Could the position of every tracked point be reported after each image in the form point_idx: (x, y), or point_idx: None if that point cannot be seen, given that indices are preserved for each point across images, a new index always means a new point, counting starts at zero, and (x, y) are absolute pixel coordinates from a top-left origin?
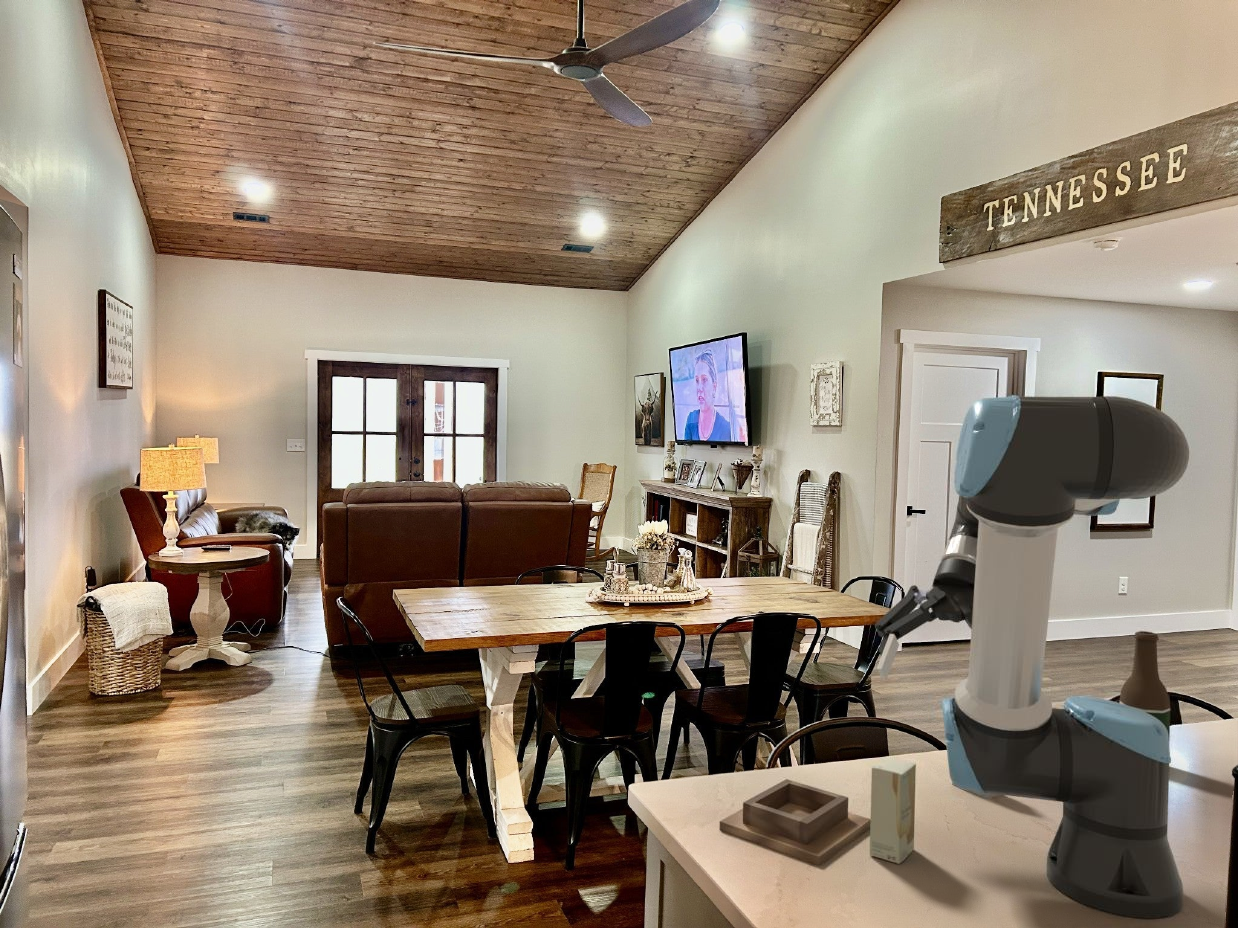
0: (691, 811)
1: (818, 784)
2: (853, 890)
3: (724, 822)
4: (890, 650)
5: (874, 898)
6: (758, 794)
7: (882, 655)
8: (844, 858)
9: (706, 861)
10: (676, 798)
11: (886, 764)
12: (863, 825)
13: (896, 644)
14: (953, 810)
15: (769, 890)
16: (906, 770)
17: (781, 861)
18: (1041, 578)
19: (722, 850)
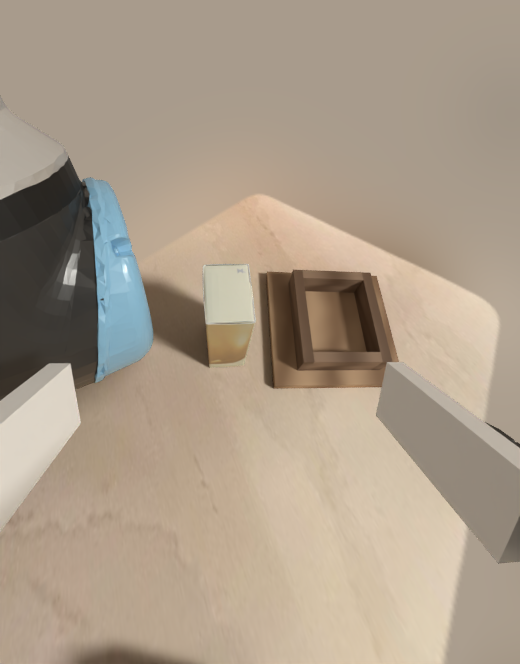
0: (418, 295)
1: (401, 473)
2: (220, 258)
3: (371, 276)
4: (446, 431)
5: (200, 257)
6: (376, 299)
7: (437, 390)
8: (255, 302)
9: (334, 231)
10: (452, 310)
11: (237, 285)
12: (273, 365)
13: (488, 516)
14: (212, 543)
15: (271, 223)
16: (205, 286)
17: (293, 264)
18: None
19: (340, 252)
